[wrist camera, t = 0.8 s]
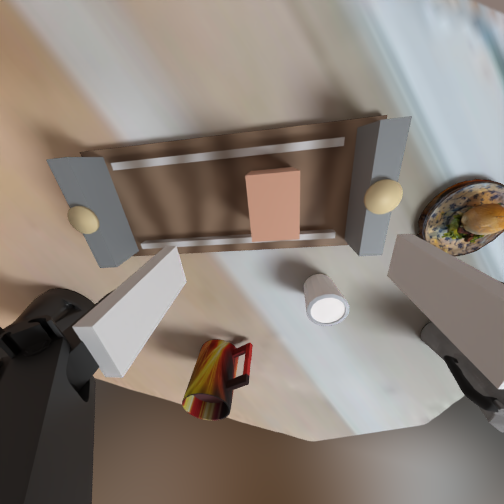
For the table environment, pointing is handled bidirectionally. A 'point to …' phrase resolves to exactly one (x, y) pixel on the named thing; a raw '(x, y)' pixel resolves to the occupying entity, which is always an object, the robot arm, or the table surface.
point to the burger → (464, 217)
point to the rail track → (233, 186)
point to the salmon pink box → (274, 204)
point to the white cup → (324, 301)
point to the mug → (216, 379)
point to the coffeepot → (467, 376)
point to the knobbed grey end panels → (359, 208)
